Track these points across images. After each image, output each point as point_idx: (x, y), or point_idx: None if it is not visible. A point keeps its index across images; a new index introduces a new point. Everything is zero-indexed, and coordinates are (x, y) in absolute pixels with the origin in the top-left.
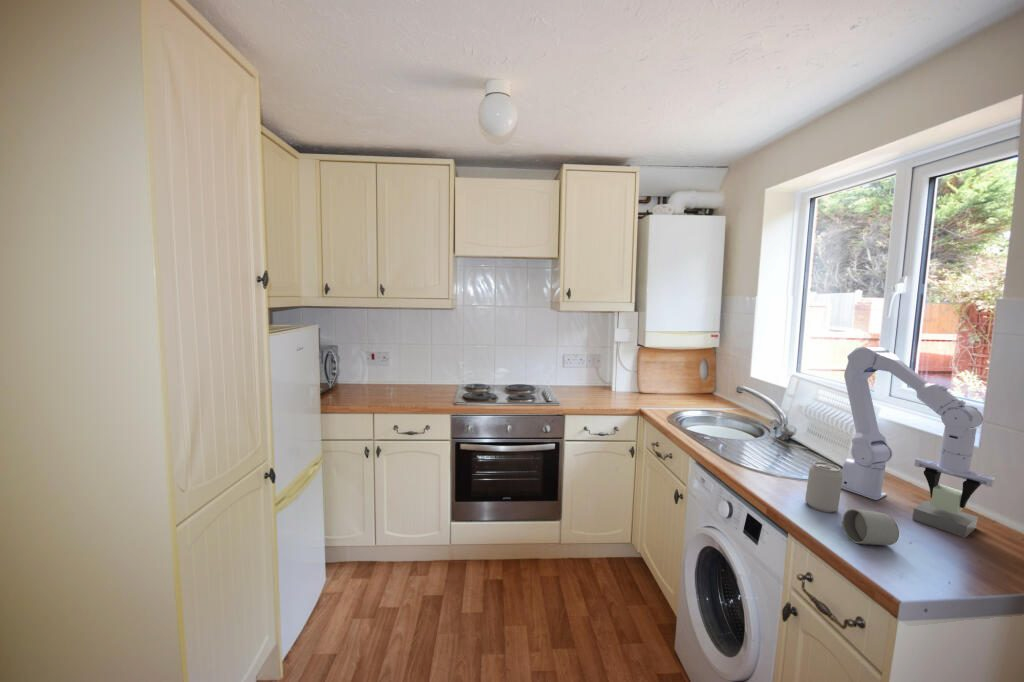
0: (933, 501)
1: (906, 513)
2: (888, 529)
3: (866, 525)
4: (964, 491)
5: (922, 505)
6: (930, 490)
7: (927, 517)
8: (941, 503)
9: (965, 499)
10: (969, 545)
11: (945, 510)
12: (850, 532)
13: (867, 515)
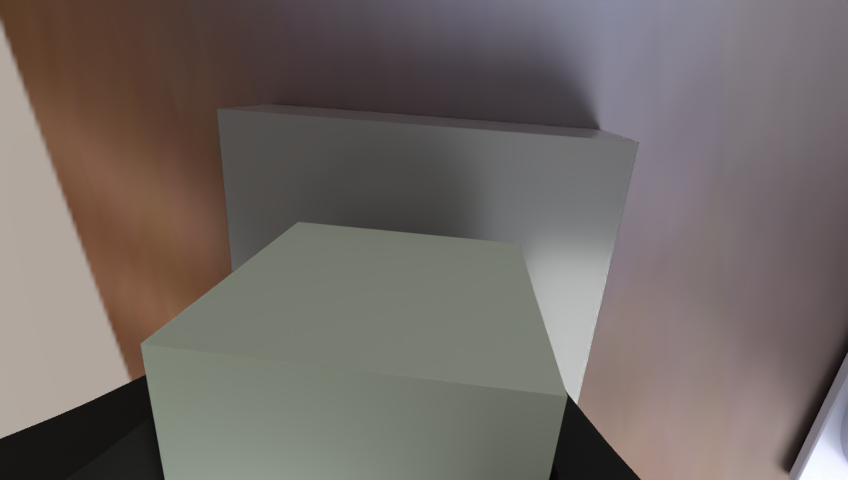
0: (502, 265)
1: (645, 224)
2: None
3: None
4: (20, 476)
5: (576, 315)
6: (581, 416)
7: (508, 128)
8: (421, 259)
9: (143, 378)
10: None
11: (387, 231)
12: None
13: None
